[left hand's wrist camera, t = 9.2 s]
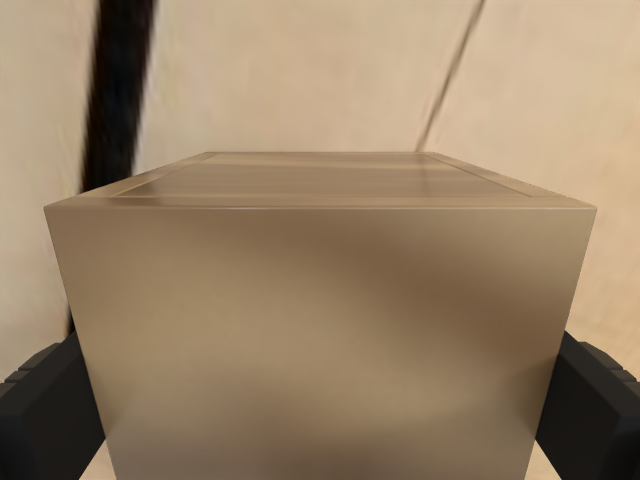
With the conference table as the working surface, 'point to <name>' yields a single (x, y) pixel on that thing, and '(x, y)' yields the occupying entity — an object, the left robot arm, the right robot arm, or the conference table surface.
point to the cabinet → (320, 314)
